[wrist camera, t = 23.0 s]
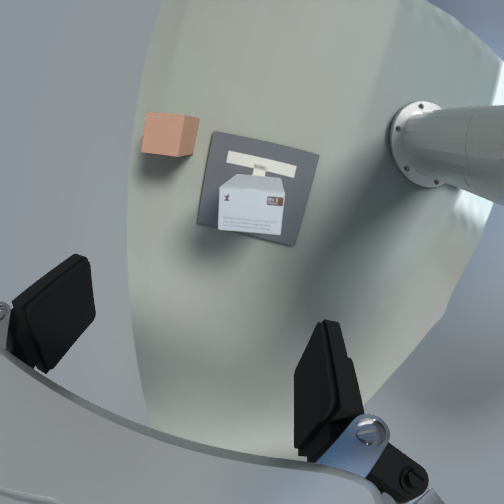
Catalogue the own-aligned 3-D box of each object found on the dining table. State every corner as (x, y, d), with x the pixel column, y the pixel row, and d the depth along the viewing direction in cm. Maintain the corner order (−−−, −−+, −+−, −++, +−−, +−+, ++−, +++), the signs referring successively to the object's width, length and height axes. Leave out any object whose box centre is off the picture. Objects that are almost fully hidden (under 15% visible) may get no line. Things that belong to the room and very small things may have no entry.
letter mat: (318, 154, 33) (319, 155, 33) (294, 244, 38) (294, 246, 38) (214, 131, 33) (213, 131, 33) (198, 221, 38) (197, 223, 38)
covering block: (199, 118, 33) (185, 115, 27) (193, 153, 35) (177, 156, 29) (166, 115, 33) (146, 112, 27) (160, 149, 35) (140, 152, 29)
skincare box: (234, 204, 36) (213, 233, 25) (236, 171, 35) (215, 186, 23) (280, 208, 36) (280, 240, 25) (283, 175, 34) (285, 192, 23)
